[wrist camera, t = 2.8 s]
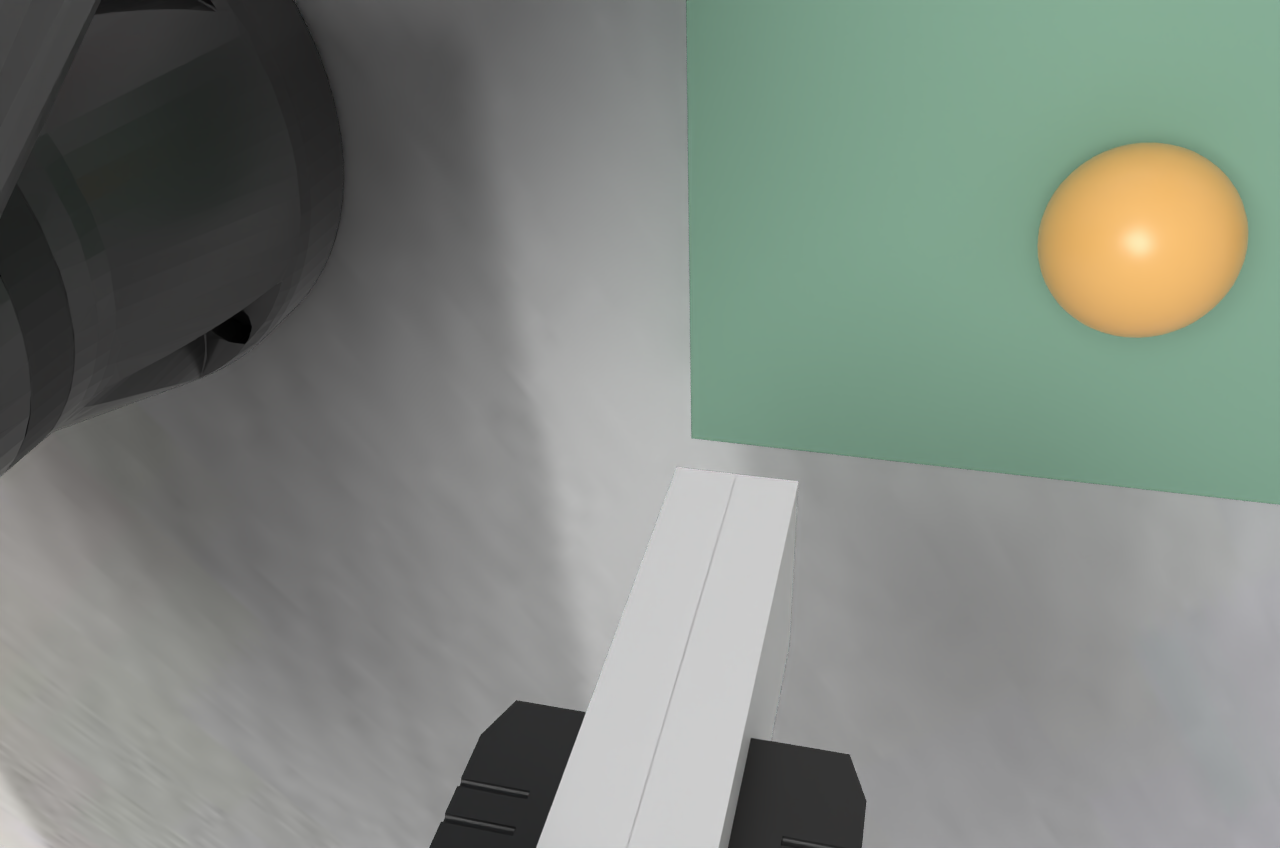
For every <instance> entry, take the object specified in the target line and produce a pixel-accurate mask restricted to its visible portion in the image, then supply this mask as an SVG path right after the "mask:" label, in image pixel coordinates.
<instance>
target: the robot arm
mask: <svg viewBox="0 0 1280 848" xmlns="http://www.w3.org/2000/svg"><path fill="white" fill-rule="evenodd" d="M342 198H343V154H342V143H341V136H340V130H339V123H338V118H337V113H336V109H335V105H334V100H333V96H332V93H331V89H330V86H329V83H328V79H327V76H326V73H325V70H324V67H323V65H322V62H321V59H320V57H319V54H318V51H317V49H316V47H315V44H314V42H313V40H312V37H311V35H310V33H309V30H308V28H307V26H306V24H305V22H304V20H303V18H302V16H301V14H300V12H299V10H298V8H297V6H296V5H295V3H294V1H293V0H0V477H1V476H2V475H3V474H4V473H5V472H6V471H7V470H9V469H10V468H11V467H12V466H13V465H14V464H16V463H17V462H18V461H19V460H20V459H22V458H23V457H24V456H25V455H26V454H27V453H29V452H30V451H31V450H32V449H33V448H34V447H36V446H37V445H38V444H39V443H40V442H41V441H43V440H44V439H45V438H46V437H47V436H49V435H50V434H51V433H53V432H54V431H57V430H59V429H62V428H65V427H68V426H70V425H73V424H76V423H79V422H81V421H84V420H87V419H90V418H92V417H95V416H98V415H101V414H103V413H106V412H109V411H112V410H114V409H117V408H120V407H123V406H125V405H128V404H131V403H134V402H137V401H139V400H142V399H145V398H148V397H150V396H153V395H156V394H159V393H161V392H164V391H167V390H170V389H172V388H175V387H178V386H181V385H183V384H186V383H189V382H192V381H194V380H197V379H200V378H203V377H205V376H207V375H210V374H212V373H214V372H216V371H218V370H220V369H222V368H224V367H226V366H227V365H229V364H231V363H232V362H234V361H236V360H237V359H239V358H240V357H242V356H243V355H245V354H246V353H247V352H249V351H250V350H251V349H253V348H254V347H255V346H256V345H257V344H258V343H259V342H260V341H262V340H263V339H264V338H265V337H266V336H267V335H268V334H269V333H270V332H271V331H272V330H273V329H274V328H275V327H276V326H277V325H278V324H279V323H280V322H281V321H282V320H283V319H284V318H285V317H286V316H287V315H288V314H289V313H290V312H291V311H292V310H293V309H294V308H295V307H296V306H297V305H298V304H299V303H300V302H301V301H302V300H303V299H304V297H305V296H306V295H307V294H308V292H309V291H310V290H311V288H312V287H313V285H314V284H315V282H316V281H317V279H318V277H319V275H320V274H321V272H322V270H323V268H324V266H325V264H326V262H327V259H328V257H329V255H330V252H331V249H332V246H333V243H334V240H335V237H336V233H337V229H338V225H339V220H340V214H341V207H342ZM798 482H799V481H792V480H783V479H775V478H766V477H758V476H749V475H741V474H733V473H724V472H716V471H707V470H699V469H690V468H682V467H676V470H675V473H674V475H673V478H672V481H671V484H670V486H669V489H668V492H667V494H666V497H665V500H664V502H663V505H662V508H661V511H660V513H659V516H658V519H657V521H656V524H655V527H654V530H653V532H652V535H651V538H650V540H649V543H648V546H647V549H646V551H645V554H644V557H643V559H642V562H641V565H640V568H639V570H638V573H637V576H636V578H635V581H634V584H633V587H632V589H631V592H630V595H629V597H628V600H627V603H626V606H625V608H624V611H623V614H622V616H621V619H620V622H619V625H618V627H617V630H616V633H615V635H614V638H613V641H612V643H611V646H610V649H609V652H608V654H607V657H606V660H605V662H604V665H603V668H602V671H601V673H600V676H599V679H598V681H597V684H596V687H595V690H594V692H593V695H592V698H591V700H590V703H589V706H588V709H587V711H586V712H581V711H575V710H569V709H564V708H558V707H552V706H546V705H540V704H534V703H529V702H523V701H517V700H516V701H515V702H514V703H513V704H512V705H511V706H510V707H509V708H508V709H507V710H506V711H505V712H504V713H503V714H502V715H501V716H500V717H499V718H498V719H497V720H496V721H495V722H494V723H493V724H492V725H491V726H490V727H488V728H487V729H486V730H485V731H484V732H483V733H482V734H481V736H480V738H479V740H478V742H477V745H476V747H475V749H474V751H473V753H472V756H471V758H470V760H469V762H468V764H467V766H466V769H465V771H464V773H463V775H462V777H461V784H460V786H457V788H456V791H455V793H454V795H453V797H452V799H451V801H450V804H449V806H448V808H447V810H446V812H445V819H444V821H443V822H441V823H440V826H439V828H438V830H437V832H436V834H435V837H434V839H433V841H432V843H431V845H430V847H429V848H862V839H863V829H864V819H865V809H866V799H865V796H864V793H863V791H862V788H861V785H860V782H859V780H858V777H857V774H856V771H855V768H854V766H853V763H852V760H851V757H850V755H849V754H843V753H837V752H831V751H826V750H820V749H814V748H808V747H802V746H796V745H790V744H784V743H779V742H773V741H771V740H772V734H773V729H774V724H775V719H776V713H777V708H778V703H779V698H780V693H781V687H782V682H783V677H784V672H785V667H786V661H787V656H788V651H789V646H790V633H791V614H792V595H793V576H794V557H795V538H796V520H797V501H798Z"/></svg>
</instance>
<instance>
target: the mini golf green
mask: <svg viewBox="0 0 1280 848" xmlns="http://www.w3.org/2000/svg"><path fill="white" fill-rule="evenodd" d="M686 26H687V108H688V190H689V271H690V353H691V435H692V438H694V439H703V440H712V441H721V442H729V443H738V444H747V445H756V446H765V447H774V448H783V449H791V450H800V451H809V452H818V453H827V454H836V455H845V456H853V457H862V458H871V459H880V460H889V461H898V462H907V463H915V464H924V465H933V466H942V467H951V468H960V469H969V470H977V471H986V472H995V473H1004V474H1013V475H1022V476H1031V477H1039V478H1048V479H1057V480H1066V481H1075V482H1084V483H1093V484H1102V485H1110V486H1119V487H1128V488H1137V489H1146V490H1155V491H1164V492H1172V493H1181V494H1190V495H1199V496H1208V497H1217V498H1226V499H1234V500H1243V501H1252V502H1261V503H1270V504H1279V505H1280V0H686ZM1154 142H1155V143H1164V144H1171V145H1175V146H1179V147H1183V148H1186V149H1188V150H1191V151H1194V152H1196V153H1198V154H1199V155H1201V156H1203V157H1205V158H1206V159H1208V160H1209V161H1211V162H1212V163H1213V164H1215V165H1216V166H1217V167H1219V168H1220V169H1221V170H1222V171H1223V172H1224V173H1225V175H1226V176H1227V177H1228V178H1229V179H1230V181H1231V182H1232V184H1233V185H1234V187H1235V188H1236V190H1237V191H1238V193H1239V195H1240V197H1241V199H1242V202H1243V205H1244V209H1245V212H1246V216H1247V221H1248V246H1247V252H1246V256H1245V260H1244V263H1243V266H1242V268H1241V271H1240V273H1239V275H1238V277H1237V279H1236V281H1235V283H1234V285H1233V286H1232V288H1231V289H1230V290H1229V292H1228V293H1227V294H1226V296H1225V297H1224V298H1223V299H1222V300H1221V301H1220V302H1219V303H1218V304H1217V305H1216V306H1215V307H1214V308H1213V309H1212V310H1211V311H1209V312H1208V313H1207V314H1206V315H1204V316H1203V317H1201V318H1200V319H1198V320H1197V321H1195V322H1193V323H1192V324H1190V325H1188V326H1186V327H1184V328H1181V329H1179V330H1176V331H1174V332H1170V333H1167V334H1163V335H1158V336H1153V337H1142V338H1130V337H1120V336H1114V335H1110V334H1106V333H1103V332H1100V331H1097V330H1095V329H1092V328H1090V327H1088V326H1086V325H1084V324H1082V323H1081V322H1079V321H1078V320H1076V319H1075V318H1074V317H1072V316H1071V315H1070V314H1068V313H1067V312H1066V311H1065V310H1064V309H1063V308H1062V307H1061V306H1060V305H1059V304H1058V302H1057V301H1056V300H1055V298H1054V297H1053V296H1052V294H1051V292H1050V291H1049V289H1048V287H1047V285H1046V284H1045V281H1044V278H1043V276H1042V273H1041V269H1040V265H1039V260H1038V248H1037V244H1038V233H1039V227H1040V223H1041V219H1042V217H1043V214H1044V212H1045V209H1046V207H1047V204H1048V202H1049V201H1050V199H1051V197H1052V195H1053V194H1054V192H1055V191H1056V190H1057V188H1058V187H1059V186H1060V184H1061V183H1062V182H1063V181H1064V180H1065V179H1066V178H1067V177H1068V176H1069V175H1070V174H1071V173H1072V172H1073V171H1074V170H1075V169H1077V168H1078V167H1079V166H1080V165H1082V164H1083V163H1085V162H1086V161H1088V160H1089V159H1091V158H1092V157H1094V156H1096V155H1098V154H1100V153H1102V152H1105V151H1107V150H1110V149H1113V148H1116V147H1120V146H1124V145H1128V144H1135V143H1154Z"/></svg>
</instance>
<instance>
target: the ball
mask: <svg viewBox="0 0 1280 848" xmlns="http://www.w3.org/2000/svg"><path fill="white" fill-rule="evenodd" d="M1247 246H1248V221H1247V216H1246V212H1245V209H1244V205H1243V202H1242V199H1241V197H1240V195H1239V193H1238V191H1237V190H1236V188H1235V187H1234V185H1233V184H1232V182H1231V181H1230V179H1229V178H1228V177H1227V176H1226V175H1225V173H1224V172H1223V171H1222V170H1221V169H1220V168H1219V167H1217V166H1216V165H1215V164H1213V163H1212V162H1211V161H1209V160H1208V159H1206V158H1205V157H1203V156H1201V155H1199V154H1198V153H1196V152H1194V151H1191V150H1188V149H1186V148H1183V147H1179V146H1175V145H1171V144H1164V143H1155V142H1154V143H1135V144H1128V145H1124V146H1120V147H1116V148H1113V149H1110V150H1107V151H1105V152H1102V153H1100V154H1098V155H1096V156H1094V157H1092V158H1091V159H1089V160H1088V161H1086V162H1085V163H1083V164H1082V165H1080V166H1079V167H1078V168H1077V169H1075V170H1074V171H1073V172H1072V173H1071V174H1070V175H1069V176H1068V177H1067V178H1066V179H1065V180H1064V181H1063V182H1062V183H1061V184H1060V186H1059V187H1058V188H1057V190H1056V191H1055V192H1054V194H1053V195H1052V197H1051V199H1050V201H1049V202H1048V204H1047V207H1046V209H1045V212H1044V214H1043V217H1042V219H1041V223H1040V227H1039V233H1038V244H1037V248H1038V260H1039V265H1040V269H1041V273H1042V276H1043V278H1044V281H1045V284H1046V285H1047V287H1048V289H1049V291H1050V292H1051V294H1052V296H1053V297H1054V298H1055V300H1056V301H1057V302H1058V304H1059V305H1060V306H1061V307H1062V308H1063V309H1064V310H1065V311H1066V312H1067V313H1068V314H1070V315H1071V316H1072V317H1074V318H1075V319H1076V320H1078V321H1079V322H1081V323H1082V324H1084V325H1086V326H1088V327H1090V328H1092V329H1095V330H1097V331H1100V332H1103V333H1106V334H1110V335H1114V336H1120V337H1130V338H1142V337H1153V336H1158V335H1163V334H1167V333H1170V332H1174V331H1176V330H1179V329H1181V328H1184V327H1186V326H1188V325H1190V324H1192V323H1193V322H1195V321H1197V320H1198V319H1200V318H1201V317H1203V316H1204V315H1206V314H1207V313H1208V312H1209V311H1211V310H1212V309H1213V308H1214V307H1215V306H1216V305H1217V304H1218V303H1219V302H1220V301H1221V300H1222V299H1223V298H1224V297H1225V296H1226V294H1227V293H1228V292H1229V290H1230V289H1231V288H1232V286H1233V285H1234V283H1235V281H1236V279H1237V277H1238V275H1239V273H1240V271H1241V268H1242V266H1243V263H1244V260H1245V256H1246V252H1247Z"/></svg>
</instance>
